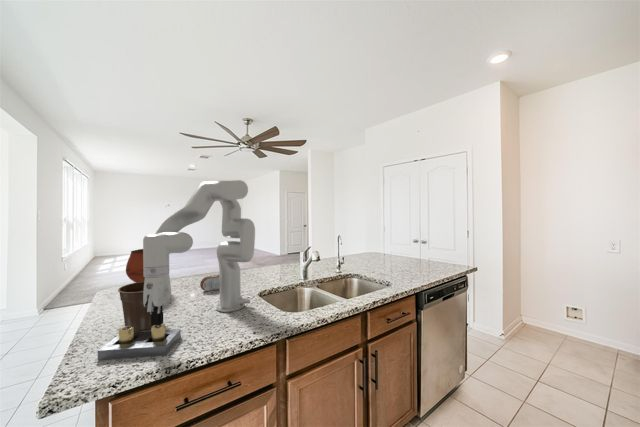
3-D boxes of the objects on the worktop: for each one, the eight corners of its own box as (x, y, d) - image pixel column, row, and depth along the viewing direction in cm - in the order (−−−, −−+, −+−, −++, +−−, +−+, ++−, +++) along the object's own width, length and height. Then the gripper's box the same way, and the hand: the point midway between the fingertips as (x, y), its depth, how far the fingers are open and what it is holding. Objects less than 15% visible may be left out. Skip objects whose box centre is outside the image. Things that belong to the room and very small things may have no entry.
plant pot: (171, 325, 107) (170, 285, 107) (122, 339, 96) (121, 295, 96) (161, 314, 119) (160, 278, 119) (116, 325, 108) (115, 285, 108)
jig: (180, 337, 97) (180, 318, 97) (165, 355, 85) (165, 333, 85) (121, 341, 95) (121, 321, 94) (97, 360, 83) (97, 337, 83)
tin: (226, 286, 160) (226, 273, 160) (228, 288, 158) (228, 274, 158) (200, 292, 151) (199, 277, 151) (201, 293, 148) (201, 278, 148)
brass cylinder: (167, 343, 93) (167, 322, 93) (162, 348, 89) (161, 328, 89) (155, 343, 93) (154, 323, 92) (149, 349, 89) (149, 328, 88)
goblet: (160, 287, 160) (159, 246, 160) (172, 293, 148) (171, 249, 147) (121, 295, 146) (120, 250, 145) (131, 303, 133) (130, 253, 133)
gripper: (157, 275, 83) (158, 333, 83) (177, 265, 98) (177, 315, 98) (132, 276, 82) (132, 335, 82) (155, 266, 97) (156, 316, 97)
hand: (157, 324), depth 90 cm, fingers closed
